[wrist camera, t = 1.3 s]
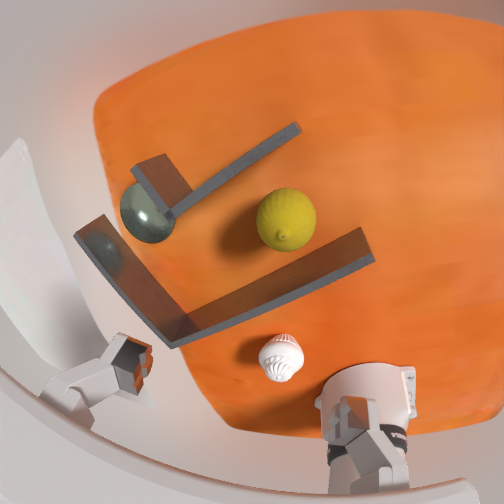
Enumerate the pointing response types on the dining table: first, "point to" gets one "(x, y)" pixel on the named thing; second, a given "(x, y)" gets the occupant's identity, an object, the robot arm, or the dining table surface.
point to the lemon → (286, 219)
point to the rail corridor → (161, 225)
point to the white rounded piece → (281, 357)
